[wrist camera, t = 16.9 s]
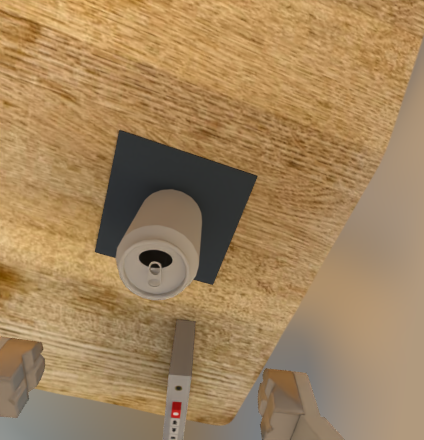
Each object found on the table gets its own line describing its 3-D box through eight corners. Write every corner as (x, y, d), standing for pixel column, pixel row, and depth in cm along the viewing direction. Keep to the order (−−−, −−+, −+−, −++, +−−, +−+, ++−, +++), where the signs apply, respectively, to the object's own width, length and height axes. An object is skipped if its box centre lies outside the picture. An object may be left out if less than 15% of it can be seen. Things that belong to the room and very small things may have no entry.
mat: (257, 175, 35) (257, 176, 35) (212, 284, 41) (212, 284, 41) (119, 130, 33) (119, 130, 32) (95, 251, 39) (94, 252, 39)
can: (205, 189, 35) (201, 238, 24) (199, 245, 38) (194, 310, 27) (140, 183, 35) (107, 230, 24) (140, 240, 38) (111, 304, 27)
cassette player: (176, 319, 44) (167, 382, 35) (195, 321, 44) (190, 384, 35) (170, 391, 50) (160, 460, 41) (186, 393, 50) (180, 461, 41)
